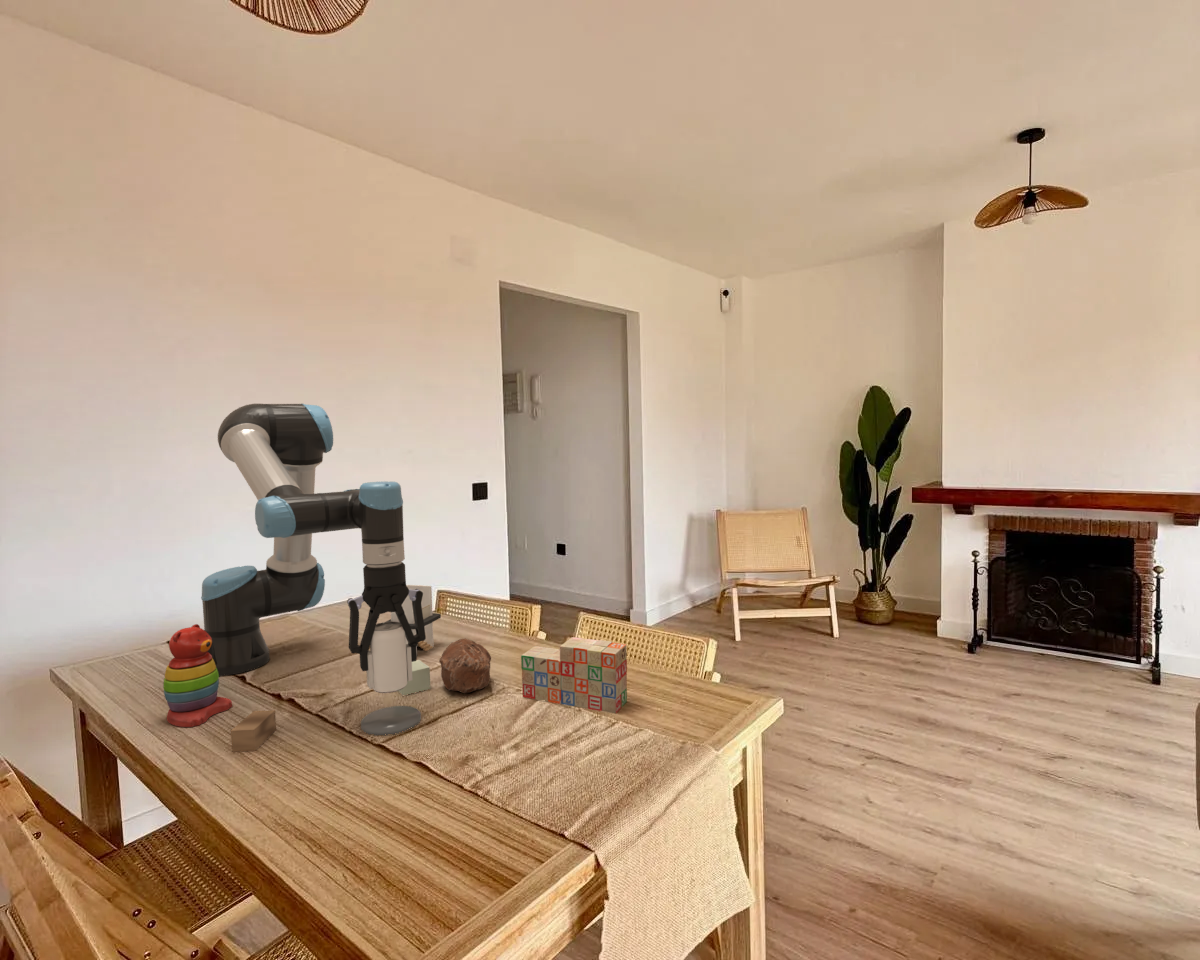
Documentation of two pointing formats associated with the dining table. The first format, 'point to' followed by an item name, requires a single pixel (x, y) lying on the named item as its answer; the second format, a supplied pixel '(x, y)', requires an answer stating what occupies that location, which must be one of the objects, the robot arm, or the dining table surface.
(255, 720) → the walnut block
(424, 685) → the sage block
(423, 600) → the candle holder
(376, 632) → the can
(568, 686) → the stack of blocks
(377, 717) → the slate coaster
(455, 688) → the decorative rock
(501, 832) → the dining table surface
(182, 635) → the stacking bear
